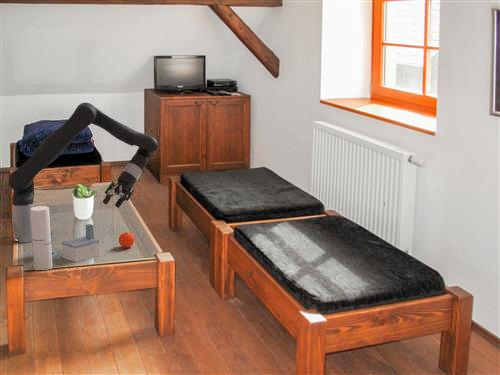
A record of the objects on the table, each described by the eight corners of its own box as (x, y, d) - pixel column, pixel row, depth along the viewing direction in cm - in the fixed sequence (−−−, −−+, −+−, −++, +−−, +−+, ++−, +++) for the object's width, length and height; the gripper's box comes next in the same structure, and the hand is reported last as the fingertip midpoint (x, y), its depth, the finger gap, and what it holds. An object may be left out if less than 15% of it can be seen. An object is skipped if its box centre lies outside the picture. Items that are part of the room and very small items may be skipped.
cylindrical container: (34, 266, 307) (30, 206, 302) (52, 264, 309) (48, 205, 304) (34, 271, 301) (30, 211, 295) (53, 269, 303) (49, 209, 297)
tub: (75, 262, 312) (75, 248, 311) (63, 257, 318) (62, 244, 317) (99, 255, 321) (98, 242, 320) (86, 251, 327) (85, 238, 326)
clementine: (124, 243, 338) (123, 228, 337) (138, 245, 336) (137, 229, 334) (116, 248, 331) (115, 233, 329) (130, 250, 329) (129, 234, 327)
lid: (75, 251, 311) (74, 232, 309) (61, 247, 317) (60, 228, 315) (99, 245, 320) (98, 226, 318) (86, 241, 326) (85, 222, 324)
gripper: (114, 168, 335) (95, 197, 330) (135, 172, 326) (115, 202, 320) (124, 178, 340) (105, 207, 335) (145, 182, 331) (125, 212, 325)
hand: (110, 205), depth 327 cm, fingers open, 8 cm apart
